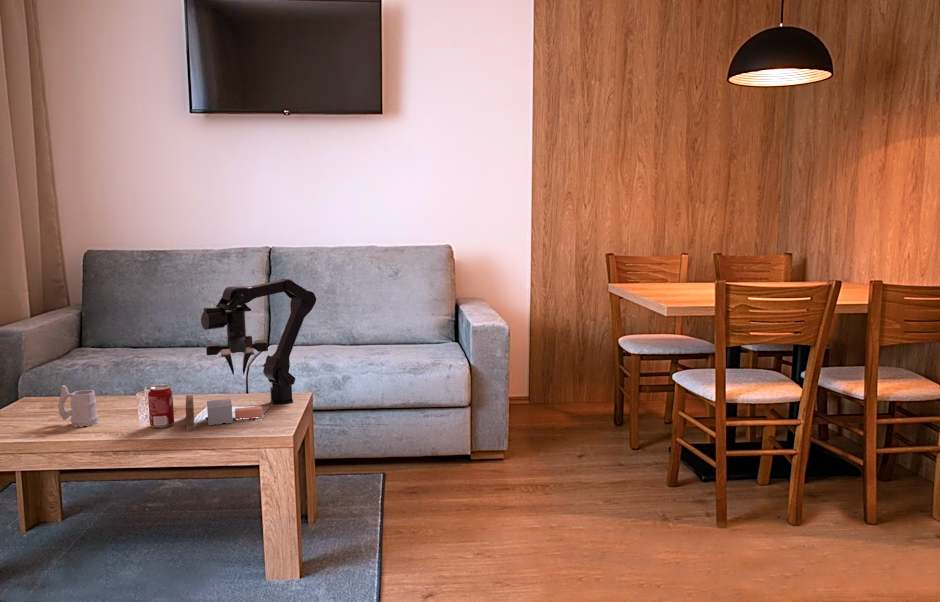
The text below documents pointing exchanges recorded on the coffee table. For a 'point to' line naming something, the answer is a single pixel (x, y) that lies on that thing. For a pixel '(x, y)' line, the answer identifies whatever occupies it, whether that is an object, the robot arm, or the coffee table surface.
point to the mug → (79, 407)
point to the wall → (189, 413)
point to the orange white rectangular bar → (248, 412)
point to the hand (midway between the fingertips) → (238, 373)
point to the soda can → (161, 406)
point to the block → (219, 411)
